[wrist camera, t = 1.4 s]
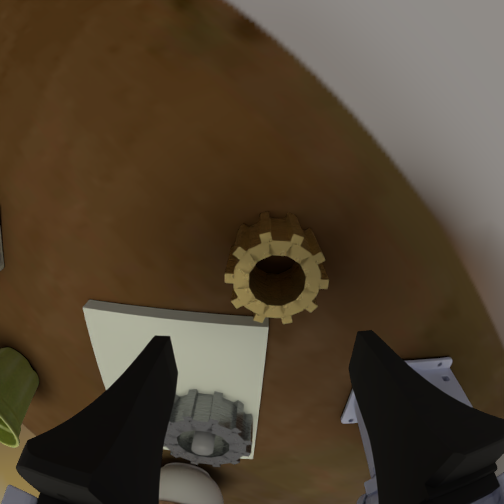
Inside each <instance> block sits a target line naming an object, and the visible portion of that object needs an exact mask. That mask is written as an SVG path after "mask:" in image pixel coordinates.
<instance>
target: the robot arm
mask: <svg viewBox="0 0 504 504" xmlns="http://www.w3.org/2000/svg"><path fill="white" fill-rule="evenodd" d="M451 364H452V359H451V358H450V357H445V358H435V359H423V360H409V361H404V360H403V359H401V358H400V357H399V356H398V355H397V354H396V353H395V352H394V351H393V350H392V349H391V348H390V347H389V346H388V345H387V344H386V343H385V342H384V341H383V340H382V339H381V338H380V337H379V336H378V335H376V334H375V333H374V332H373V331H372V330H369V331H358V332H357V336H356V341H355V345H354V349H353V353H352V357H351V360H350V364H349V373H350V378H351V383H352V388H353V389H352V391H351V394H350V396H349V399H348V402H347V404H346V407H345V409H344V412H343V414H342V417H341V422H342V423H344V424H346V423H358V425H359V429H360V433H361V437H362V441H363V445H364V450H365V454H366V458H367V462H368V467H369V471H370V475H371V479H370V480H368V481H366V482H365V483H364V485H365V490H366V493H365V494H363V495H361V496H360V497H359V499H358V501H357V503H356V504H504V472H503V473H502V474H500V475H499V476H497V477H496V475H495V473H494V472H495V471H496V470H497V465H496V463H495V462H496V461H497V460H498V459H499V458H500V457H501V455H502V454H503V453H504V419H501V418H498V417H495V416H492V415H489V414H486V413H484V412H481V411H479V410H477V409H474V408H473V407H472V405H471V403H470V402H469V400H468V398H467V396H466V395H465V393H464V391H463V389H462V388H461V386H460V384H459V383H458V381H457V379H456V378H455V376H454V374H453V373H452V371H451V369H450V366H451ZM177 379H178V369H177V365H176V361H175V356H174V352H173V347H172V343H171V338H170V336H157V335H155V336H154V337H153V338H152V339H151V340H150V342H149V343H148V344H147V345H146V347H145V348H144V349H143V350H142V352H141V353H140V354H139V355H138V356H137V358H136V359H135V360H134V361H133V362H132V364H131V365H130V366H129V367H128V368H127V369H126V370H125V372H124V373H123V374H122V375H121V376H120V377H119V378H118V379H117V380H116V381H115V382H114V383H113V384H112V385H111V386H110V387H109V388H108V389H107V390H106V391H105V392H104V393H103V394H102V395H101V396H99V397H98V398H97V399H96V400H95V401H94V402H92V403H91V404H90V405H89V406H87V407H86V408H85V409H83V410H82V411H80V412H79V413H78V414H76V415H75V416H73V417H72V418H70V419H69V420H67V421H65V422H64V423H62V424H60V425H58V426H57V427H55V428H53V429H51V430H49V431H47V432H45V433H43V434H41V435H38V436H36V437H34V438H32V439H29V440H28V441H27V443H26V445H25V447H24V449H23V451H22V454H21V456H20V459H19V461H18V463H17V466H16V469H17V471H18V473H19V474H20V475H21V476H22V477H23V478H24V479H25V480H26V481H27V482H28V483H29V484H30V485H32V486H33V487H34V488H35V489H37V490H38V491H39V492H40V495H39V498H37V497H35V496H33V495H31V494H29V493H27V492H25V491H23V490H20V489H18V488H16V487H14V486H12V485H8V486H7V489H6V492H5V495H4V497H3V500H2V503H1V504H159V486H160V472H161V462H162V452H163V446H164V441H165V436H166V432H167V428H168V424H169V420H170V416H171V412H172V408H173V404H174V399H175V395H176V388H177Z"/></svg>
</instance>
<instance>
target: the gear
mask: <svg viewBox="0 0 504 504" xmlns="http://www.w3.org/2000/svg"><path fill="white" fill-rule="evenodd" d="M222 396H223V393H220V392H217V391H214V394H213V395H212V394H203V393H198V390H197V389H190V390H189V391H188V394H187V395H183V396H178V395H177V394H176V395H175V399H174V404H173V408H172V412H171V416H170V420H169V424H168V428H167V432H166V436H165V441H164V447H167V448H168V449H169V450H170V451H171V454H170V455H172V456H174V457H176V458H177V457H182V458H184V459H187V460H189V461H191V464H195V465H198V463H202V464H211V465H212V466H213V467H220V466H221V464H225V463H232V464H234V465H235V464H237V463H240V458H241V457H242V456H248V457H249V456H250V454H251V448H252V439H253V416H252V414H246V413H245V412H244V411H243V409H244V404H243V403H242V402H240V401H239V400H237V401H235V402H232V401H230V400H227V399H225V398H223V397H222ZM195 430H197V431H205V432H210V433H213V434H215V441H214V448H213V453H212V454H211V455H207V456H203V455H198V454H196V453H194V452H193V451H192V449H191V448H192V443H193V438H194V433H195Z"/></svg>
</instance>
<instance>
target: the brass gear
mask: <svg viewBox="0 0 504 504" xmlns="http://www.w3.org/2000/svg"><path fill="white" fill-rule="evenodd" d="M271 255H278V256H288V257H290V258H291V259H293V260H295V261H296V262H295V263H294V265H293V266H292V267H291V268H290V269H289V270H287V271H285V272H282V273H280V274H269V273H265V272H264V271H262V270H260V269H259V268H257V267H256V263H257V262H258V261H260V260H262V259H265V258H267V257H269V256H271ZM324 261H325V258H324V255H323V253H322V251H321V248H320V246H319V244H318V242H317V239H316V237H315V235H314V233H313V232H312V230H311V228H309V229H307V230H305V231H304V230H303V229H302V228H300V225H299V222H298V219H297V217H296V215H293V214H291V213H287V216H286V218H285V219H279V218H270V214H269V211H267V212H263V213H260V222H258V223H256V224H253V225H251V226H250V227H248V226H247V225H246V224H244V223H243V224H242V226H241V227H240V228H239V229H238V232H237V237H236V241H235V245H234V246H232V247H231V251H230V255H229V259H228V263H227V267H226V271H225V283H233V284H234V286H233V292H232V298H231V302H232V303H233V305H234V306H235V307H236V309H237V308H239V307H241V306H245V307H246V308H247V309H249V310H251V311H253V320H254V321H257V322H260V323H263V321H264V319H265V317H271V318H281V319H282V323H283V324H287V323H292V315H293V314H296V313H298V312H301V311H303V310H304V309H306V310H308V311H309V312H310V313H311V312H312V311H313V310H314V309H316V308H317V307H318V305H317V302H316V298H315V297H316V296H317V295H318V294H317V293H318V291H319V289H328V283H329V278H328V276H327V273H326V271H325V268H324V266H323V263H322V262H324Z"/></svg>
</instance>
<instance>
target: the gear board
mask: <svg viewBox="0 0 504 504" xmlns="http://www.w3.org/2000/svg"><path fill="white" fill-rule="evenodd" d="M83 311H84V315H85V319H86V323H87V327H88V331H89V335H90V339H91V343H92V346H93V350H94V353H95V357H96V360H97V363H98V367H99V370H100V373H101V376H102V379H103V382H104V385H105V388H106V390H107V389H108V388H109V387H110V386H111V385H112V384H113V383H114V382H115V381H116V380H117V379H118V378H119V377H120V376H121V375H122V374H123V373H124V372H125V370H126V369H127V368H128V367H129V366H130V365H131V364H132V362H133V361H134V360H135V359H136V358H137V356H138V355H139V354H140V353H141V352H142V350H143V349H144V348H145V347H146V345H147V344H148V343H149V342H150V340H151V339H152V338H153V337H154V336H155V335H157V336H170V338H171V343H172V347H173V352H174V356H175V361H176V365H177V369H178V379H177V388H176V394H177V395H178V396H183V395H187V394H188V391H189V390H190V389H197V390H198V393H203V394H212V395H213V394H214V391H217V392H220V393H223V396H222V397H223V398H225V399H227V400H230V401H232V402H235V401H237V400H239V401H240V402H242V403H243V404H244V409H243V411H244V412H245V413H246V414H252V416H253V439H252V448H251V454H250V456H249V457H248V456H242V457H241V458H242V459H253V454H254V447H255V439H256V431H257V423H258V415H259V407H260V399H261V390H262V382H263V373H264V365H265V356H266V347H267V338H268V329H269V321H268V318H267V317H265V319H264V321H263V323H260V322H257V321H254V320H253V317H251V316H237V315H223V314H211V313H200V312H189V311H178V310H169V309H159V308H150V307H142V306H133V305H125V304H117V303H110V302H103V301H95V300H89V301H88V302H87V303H86V304H85V305H84V307H83ZM214 441H215V434H213V433H210V432H205V431H197V430H195V433H194V438H193V443H192V448H191V449H192V451H193V452H194V453H196V454H198V455H203V456H207V455H211V454H212V453H213V448H214ZM163 449H166V450H169V449H168V448H167V447H164V446H163Z"/></svg>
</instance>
